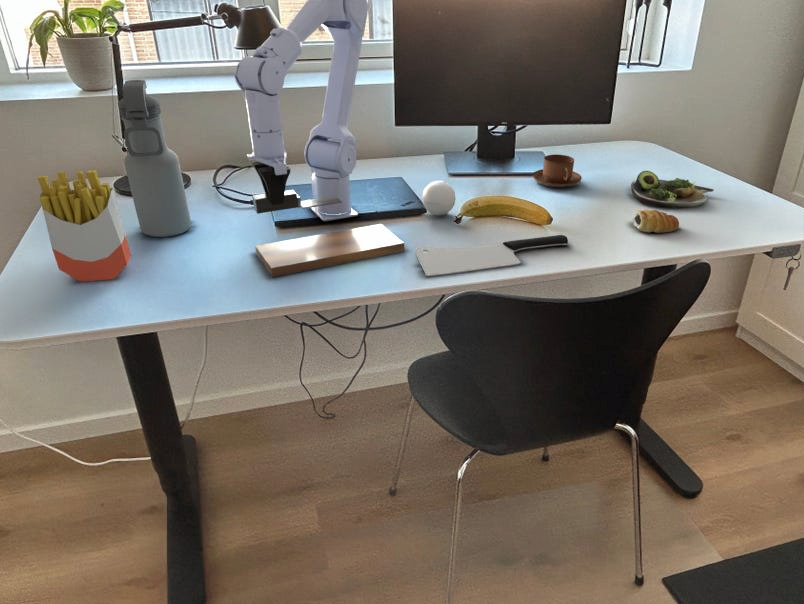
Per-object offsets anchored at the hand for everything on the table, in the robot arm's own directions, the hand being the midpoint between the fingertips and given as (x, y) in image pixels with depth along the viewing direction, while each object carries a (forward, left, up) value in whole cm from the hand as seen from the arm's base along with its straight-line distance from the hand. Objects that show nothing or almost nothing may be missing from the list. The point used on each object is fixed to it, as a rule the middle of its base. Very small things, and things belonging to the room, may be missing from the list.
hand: (275, 201), depth 127 cm
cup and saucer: (-5, +72, -8) cm, 73 cm away
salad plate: (+14, +90, -8) cm, 91 cm away
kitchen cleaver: (+26, +35, -8) cm, 44 cm away
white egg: (+1, +34, -8) cm, 35 cm away
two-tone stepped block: (+1, +4, -1) cm, 5 cm away
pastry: (+28, +73, -8) cm, 78 cm away
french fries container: (+2, -33, -8) cm, 34 cm away
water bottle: (-15, -19, -8) cm, 26 cm away
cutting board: (+10, +7, -8) cm, 15 cm away
